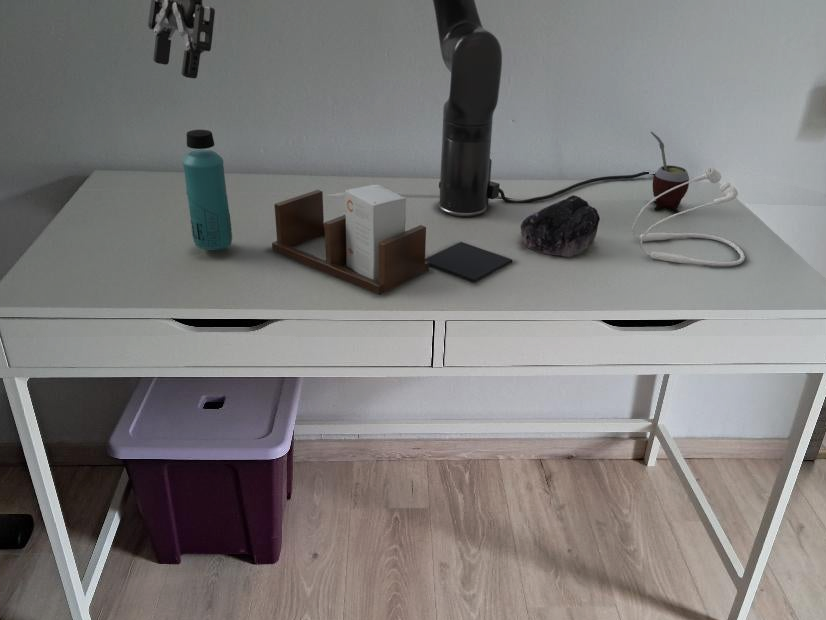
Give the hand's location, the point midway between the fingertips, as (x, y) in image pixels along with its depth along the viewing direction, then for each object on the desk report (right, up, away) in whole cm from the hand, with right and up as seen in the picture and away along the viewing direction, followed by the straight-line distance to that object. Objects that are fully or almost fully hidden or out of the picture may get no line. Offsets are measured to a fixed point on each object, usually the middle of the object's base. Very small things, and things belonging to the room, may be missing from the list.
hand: (174, 70), depth 122 cm
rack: (+25, -27, +12) cm, 39 cm away
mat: (+45, -28, +13) cm, 55 cm away
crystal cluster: (+62, -23, +22) cm, 69 cm away
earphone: (+85, -24, +22) cm, 91 cm away
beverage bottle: (+2, -26, +12) cm, 29 cm away
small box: (+30, -30, +9) cm, 43 cm away
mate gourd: (+86, -12, +41) cm, 96 cm away
